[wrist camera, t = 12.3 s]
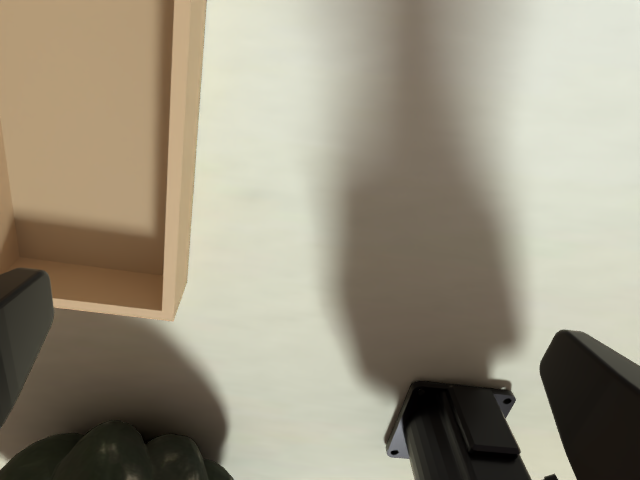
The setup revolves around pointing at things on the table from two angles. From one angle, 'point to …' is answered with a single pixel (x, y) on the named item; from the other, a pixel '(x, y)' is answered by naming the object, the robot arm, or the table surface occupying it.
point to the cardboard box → (100, 148)
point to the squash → (112, 457)
